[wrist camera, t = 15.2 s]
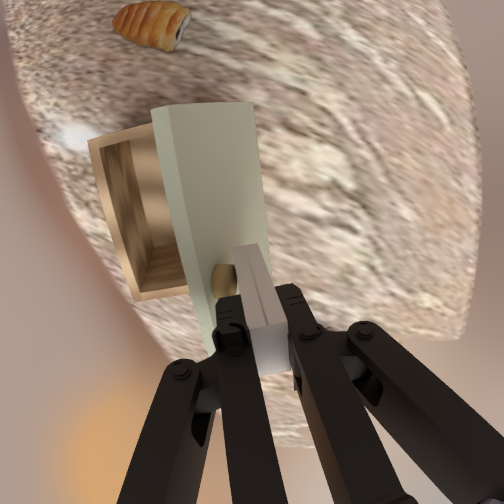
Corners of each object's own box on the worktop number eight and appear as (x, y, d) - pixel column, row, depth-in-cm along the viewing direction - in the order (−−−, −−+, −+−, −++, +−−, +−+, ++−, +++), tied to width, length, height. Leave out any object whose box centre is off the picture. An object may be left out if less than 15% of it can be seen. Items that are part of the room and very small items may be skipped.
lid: (150, 109, 10) (186, 100, 9) (243, 103, 22) (262, 101, 22) (223, 400, 18) (246, 404, 18) (264, 283, 30) (280, 284, 30)
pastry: (108, 43, 26) (98, 37, 22) (128, -1, 23) (120, -11, 20) (176, 55, 28) (172, 49, 25) (196, 10, 26) (194, 0, 22)
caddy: (121, 132, 32) (87, 140, 21) (231, 110, 33) (244, 106, 22) (150, 252, 40) (134, 302, 29) (248, 234, 41) (265, 279, 30)
